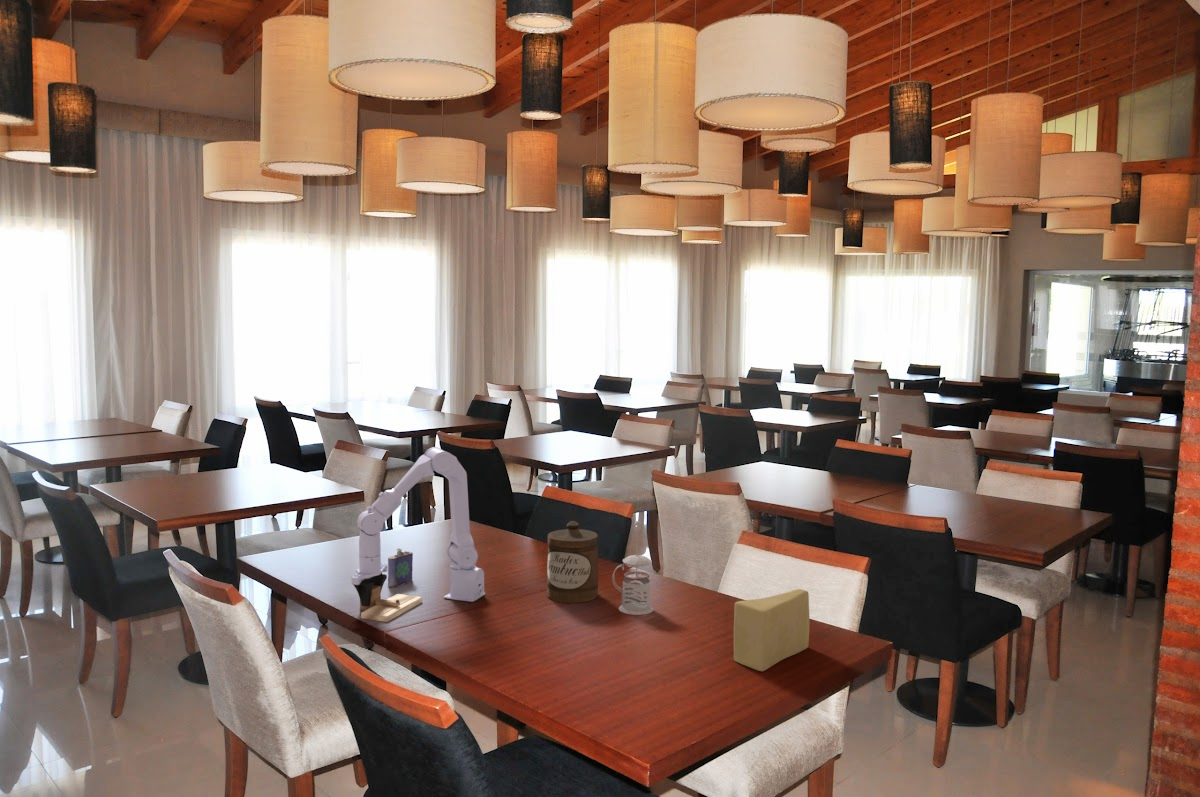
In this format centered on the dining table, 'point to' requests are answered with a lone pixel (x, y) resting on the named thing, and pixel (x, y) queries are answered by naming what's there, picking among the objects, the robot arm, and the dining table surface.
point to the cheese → (771, 629)
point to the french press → (635, 585)
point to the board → (391, 608)
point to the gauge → (378, 599)
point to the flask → (400, 568)
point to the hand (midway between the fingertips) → (370, 603)
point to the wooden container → (572, 565)
